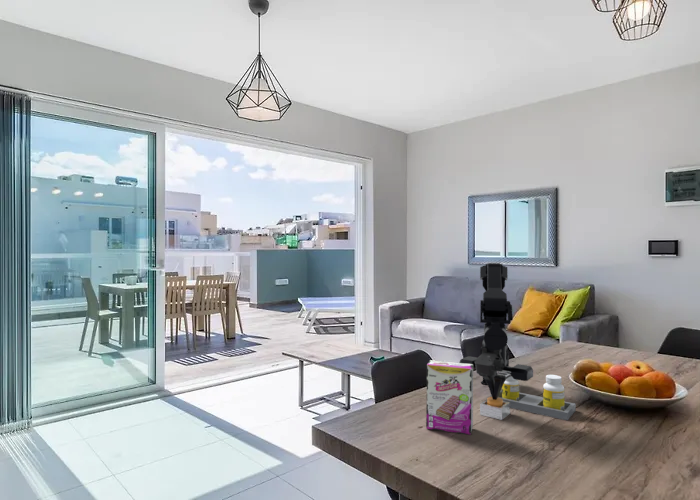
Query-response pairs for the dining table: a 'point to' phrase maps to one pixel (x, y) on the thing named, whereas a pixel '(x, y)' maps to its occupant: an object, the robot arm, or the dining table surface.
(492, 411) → the button console
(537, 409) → the bottle holder
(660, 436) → the dining table surface
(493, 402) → the button
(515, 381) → the supplement bottle
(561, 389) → the supplement bottle
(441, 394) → the candy bar box
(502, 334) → the robot arm
